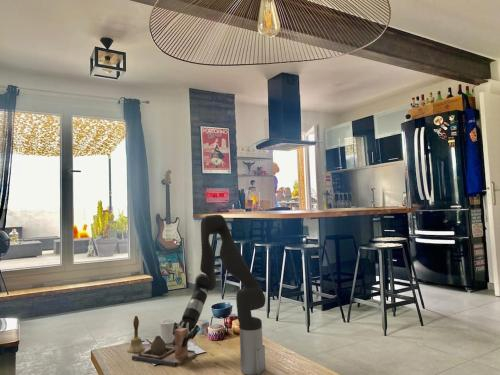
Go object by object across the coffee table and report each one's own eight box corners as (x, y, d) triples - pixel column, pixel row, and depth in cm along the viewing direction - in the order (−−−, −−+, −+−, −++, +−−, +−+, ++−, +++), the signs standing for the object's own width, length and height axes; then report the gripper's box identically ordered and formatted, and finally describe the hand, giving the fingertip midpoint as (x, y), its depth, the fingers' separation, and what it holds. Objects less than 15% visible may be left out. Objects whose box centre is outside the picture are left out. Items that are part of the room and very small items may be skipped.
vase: (162, 359, 170) (161, 339, 171) (148, 358, 172) (147, 338, 172) (168, 353, 177) (168, 334, 178) (154, 353, 179) (154, 334, 179)
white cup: (158, 343, 192) (157, 323, 192) (165, 338, 199) (165, 319, 200) (171, 344, 189) (171, 324, 190) (179, 339, 197) (178, 319, 198)
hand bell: (133, 346, 189) (133, 313, 190) (148, 347, 187) (147, 314, 188) (123, 352, 181) (123, 318, 182) (139, 353, 179) (138, 319, 180)
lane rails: (194, 354, 175) (194, 350, 175) (175, 366, 161) (174, 362, 161) (153, 348, 185) (153, 345, 185) (131, 359, 172) (131, 356, 172)
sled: (196, 355, 173) (195, 326, 174) (181, 365, 162) (180, 334, 163) (156, 349, 183) (155, 322, 183) (139, 358, 172) (138, 329, 173)
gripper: (177, 306, 180) (161, 340, 168) (202, 308, 174) (188, 343, 162) (184, 314, 185) (169, 348, 173) (209, 316, 179) (195, 352, 167)
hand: (178, 345), depth 168 cm, fingers closed on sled, 4 cm apart
